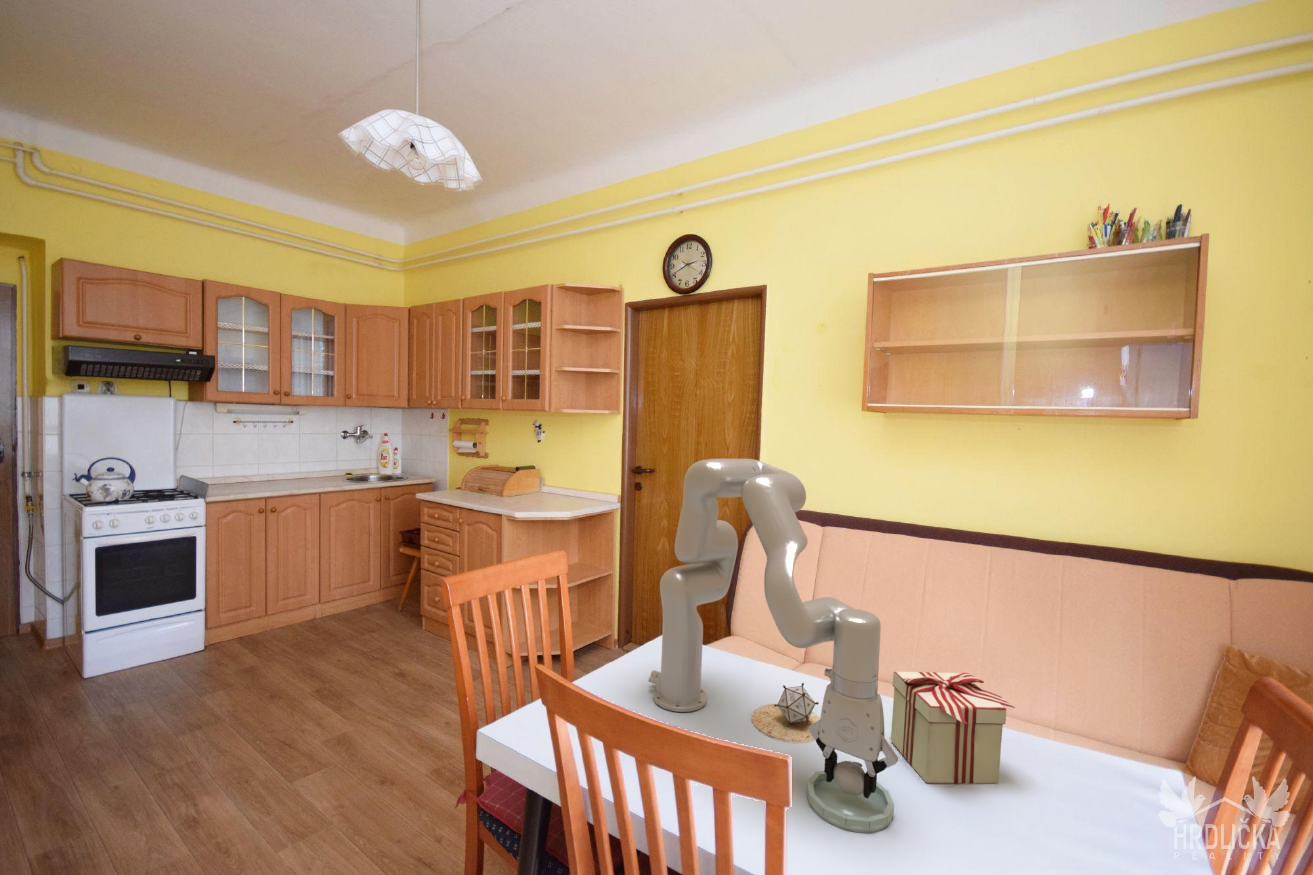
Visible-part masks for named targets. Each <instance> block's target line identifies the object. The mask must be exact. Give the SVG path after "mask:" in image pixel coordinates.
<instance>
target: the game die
mask: <svg viewBox="0 0 1313 875" xmlns="http://www.w3.org/2000/svg"><path fill="white" fill-rule="evenodd" d="M804 683H805V682H802V683H801V685H799V686H791V687H787V686H786V685H784V684H783V685H782V688H783V689H784V690H783V692H782V694H781V696H780V699H779V700H778V703H777V704H776V703H775V704H773V707H777V708H778V710H780V712H781V714H783V716H784V717H785V718H786V720H787V721H788V725H791V726H792V724H795V723H801V722H802V723H803V722H806V723H807V722H810V720H809V719H810V717H811V714H812V712H813V710H814V708H815V706H816V705H819V704H820V703H819V701H816V702H815V700H814V699H813V698H812V697H811V695H810V694H809V693H808V691H807V690H806V689H805V688H804V686H805V684H804Z"/></svg>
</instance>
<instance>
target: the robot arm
mask: <svg viewBox="0 0 1313 875" xmlns="http://www.w3.org/2000/svg"><path fill="white" fill-rule="evenodd" d="M805 488H806V487H805V486H804V484H803V482H802V481H801V480H800V479H799V478H798V477H797V476H796V475H794V474H792V473H790V472H788V471H786V470H783V469H781V468H778V467H775V466H772V465H770V464H769V463H766V462H764V461H761V460H758V459H753V458H709V459H708V458H707V459H702V460H698V461H696V462H694V463H693V464H691V465H690V466H689V467H688V469H687V471H686V473H685V476H684V480H683V493H682V494H683V497H682V505H681V510H680V514H679V518H678V525H677V529H676V534H675V535H676V536H675V541H674V554H675V556H676V558H677V560H678V561H679V562H682V563H683V565H678V566H675V567H671V568H669V569H668V570H666V571H665V572H664V573H663V574H662V576H661V578H660V582H659V592H660V598H661V605H662V606H661V608H662V632H661V633H662V636H661V638H662V640H661V660H660V661H661V662H660V671H657V670H655V669H653V670H652V671H651V673H650V676H649V678H648V682H649V683H652V684H655V685H656V688H655V690H654V691H653V696H652V698H653V702H655V704H656V705H657V706H658V707H660V708H663V709H665V710H668V711H670V712H677V713H678V712H679V713H689V712H694V711H699V710H700V709H702V708H703V707H704V706H706V704H707V702H708V695H707V693H706V691H704V690H703V689H702V688H701V685H702V668H703V667H702V663H703V662H702V660H703V640H704V638H703V637H704V623H703V620H702V618H701V616H700V614H699V612H698V610H697V608H698V606H701V605H705V604H708V603H714V602H716V601H719V600H721V599H723V598H724V597H725V596H726V595H727V593H728V591H729V589H730V587H731V582H732V577H733V573H734V570H735V569H734V568H735V565H736V559H737V556H738V550H739V549H738V548H739V540H738V534H737V532H736V530H735V528H734V527H733V525H732V524H730V523H729V522H728V521H725V520H722V519H721V520H719V513H720V507H719V503H718V502H719V501H718V499H719V498H722V499H723V498H741V499H742V502H743V505H744V507H745V509H746V512H747V515H748V517H749V519H750V521H751V523H752V525H753V527H754V529H755V530H754V531H755V532H756V535H757V537H758V540H759V542H760V544H761V546H762V548H763V551H764V553H765V555H766V563H765V569H764V578H763V579H764V580H763V583H764V584H763V586H764V597H765V601H766V604H767V607H768V610H769V613H770V615H771V616H772V619H773V621H774V623H775V626H776V627H777V629H778V631H779V634H780V635H781V637H783V639H784V640H785V641H786V642H787V643H788V644H789V645H791V646H792V647H794V648H797V649H807V648H811V647H814V646H817V645H820V644H823V643H827V642H828V643H829V642H833V649H832V650H833V651H832V652H833V653H832V667H831V668H827V667H826V668H825V670H824V673H823V675H824V676H825V677H828V678H829V679H830V680H829V681H830V683H829V684H827V685H826V689H825V691H824V694H823V699H822V700H823V701H822V706H821V711H820V712H821V713H820V719H818V720H817V721H815V722H814V723H813V724H811V725H810V726H809V727H808V732H809V733H810V734H811V736H812V738H813V739H814V740H815V742H816V745H817V746H818V748H819V749H820V750H821V752H822V757H824V769H823V770H824V772H825V773H827V774H826V781H827V782H831V781H832V780H833V779H834V776H833V769H834V766H835V764H837V763H838V753H837V752H836V751H835V750H837V751H839V752H841V753H844V754H847V755H850V756H852V757H855V758H857V759H860V760H863V761H864V765H865V767H866V771H865V775H864V792H863V796H864V797H865V798H867V799H868V798H869V796H870V795H871V793H874V792H875V791H876V783H877V782H878V780H877V779H878V774H879V773H881V772H883V771H885V770H886V769H888V768H890V767H892V766H895V765H896V764H897V763H898V761H899V756H898V755H897V753H896V752H895V751H894V750H893V748H892V747H891V745H890V743H889V742H888V741H887V740H886V737H885V716H884V708H883V701H882V696H881V694H879V693H878V690H879V689H878V688H879V667H880V665H879V664H880V650H881V649H880V648H881V646H880V645H881V630H882V629H881V627H882V626H881V625H882V624H881V622H880V619H879V617H878V616H877V615H876V614H874V613H872V612H870V611H866V610H863V609H857V608H854V607H852V606H850V605H848V604H846V603H845V602H843V601H841V600H839V599H837V598H834V597H831V596H824V597H823V596H822V597H819V598H815V599H811V600H807V601H802V599H801V597H800V595H799V593H798V590H797V587H796V584H795V579H794V568H795V564H796V561H797V559H798V558H799V556H800V554H801V553H802V552H803V551H804V550H805V549H806V547H807V546H808V542H809V541H808V538H807V535H806V533H805V531H804V529H803V527H802V525H801V523H800V521H799V519H798V517H797V514H796V513H797V512H799V511H801V510H802V508H803V507H804V506H805V505H806V504H805V503H806V500H807V492H806V489H805ZM717 498H718V499H717ZM880 753H883V755H884V756H885V757H883V758H881V759H879V756H880Z"/></svg>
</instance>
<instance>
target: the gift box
mask: <svg viewBox="0 0 1313 875" xmlns="http://www.w3.org/2000/svg"><path fill="white" fill-rule="evenodd" d="M892 674H893V675H892V687H893V688H894V690H893V701H892V702H893V703H892V705H893V706H892V715H891V716H892V718H891V730H890V741H891V742H892V744H893V745H894V746H895V747H896V749H898V751H899V752H900V753H901V755H902V756H903V757H904V758H905V760H906V761H907V762H908V763H909V764H910V766H911V768H913V769H914V771H916V773H917V774H918V776H920V778H921V779H922V780H923V781H924V783H926V784H954V785H959V784H963V785H964V784H966V785H967V784H968V785H969V784H971V785H973V784H976V785H977V784H978V785H979V784H980V785H986V784H987V785H992V784H993V785H994V784H996V785H997V784H999V778H1000V766H1001V765H1000V764H1001V755H1002V754H1001V752H1002V751H1001V750H1002V740H1003V725H1006V720H1007V708H1006V707H1010V708H1013V709H1016V707H1015V706H1013V705H1012V704H1011V703H1009V702H1008V701H1006V700H1005V699H1004V698H1003V697H1002V696H1001V695H998V694H996V693H993V692H991V691H987V690H985V689H982V688H981V687H979V686H978V685H976V683H980V684H984V683H985V681H984V680H982V679H980V678H978V677H977V676H975V675H973V674H971V673H969V672H962V673H961V672H943V671H942V672H939V671H938V672H937V671H936V672H935V671H934V672H933V671H932V672H931V671H894V672H893V673H892ZM1005 706H1006V707H1005Z"/></svg>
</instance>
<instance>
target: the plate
mask: <svg viewBox="0 0 1313 875" xmlns="http://www.w3.org/2000/svg"><path fill="white" fill-rule="evenodd" d="M826 774H827V773H825V772H824V769H823V770H819V771H815V772H814V774H812V775H811V777H810V778H809V779H808V780H807V784H806V790H807V801H808V805H809V806H810V808H811V809H812V810H813V811H814V813H815V814H816V815H817V816H819V817H820V819H822V820H824V821H825V822H827V823H828V824H830V825H833V826H835V827H837V828H840V829H842V830H845V831H849V832H854V833H858V834H859V833H861V834H871V833H876V832H877V833H878V832H879V831H883V830H885V829H887V827H889V826H890V825H891V823H892V821H893V817H894V816H893V814H894V812H895V803H894V801H893V798H892V796H891V793H890V792H889V790H888V789H886V788H885V787H884V786H883V785H881V784H880V783H879V782H878V781H877V783H876V791H875V792H874V793H871V795H870V796H869V798H868V799H867V798H865V797H864V796H863V793H862V794H860V795H853V794H850V793H847V792H844V791H843V790H842V789H841V788H840V787H839V786H838V785H837V784H836V782H835V779H833V780H832V781H831V782H827V781H826Z"/></svg>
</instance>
